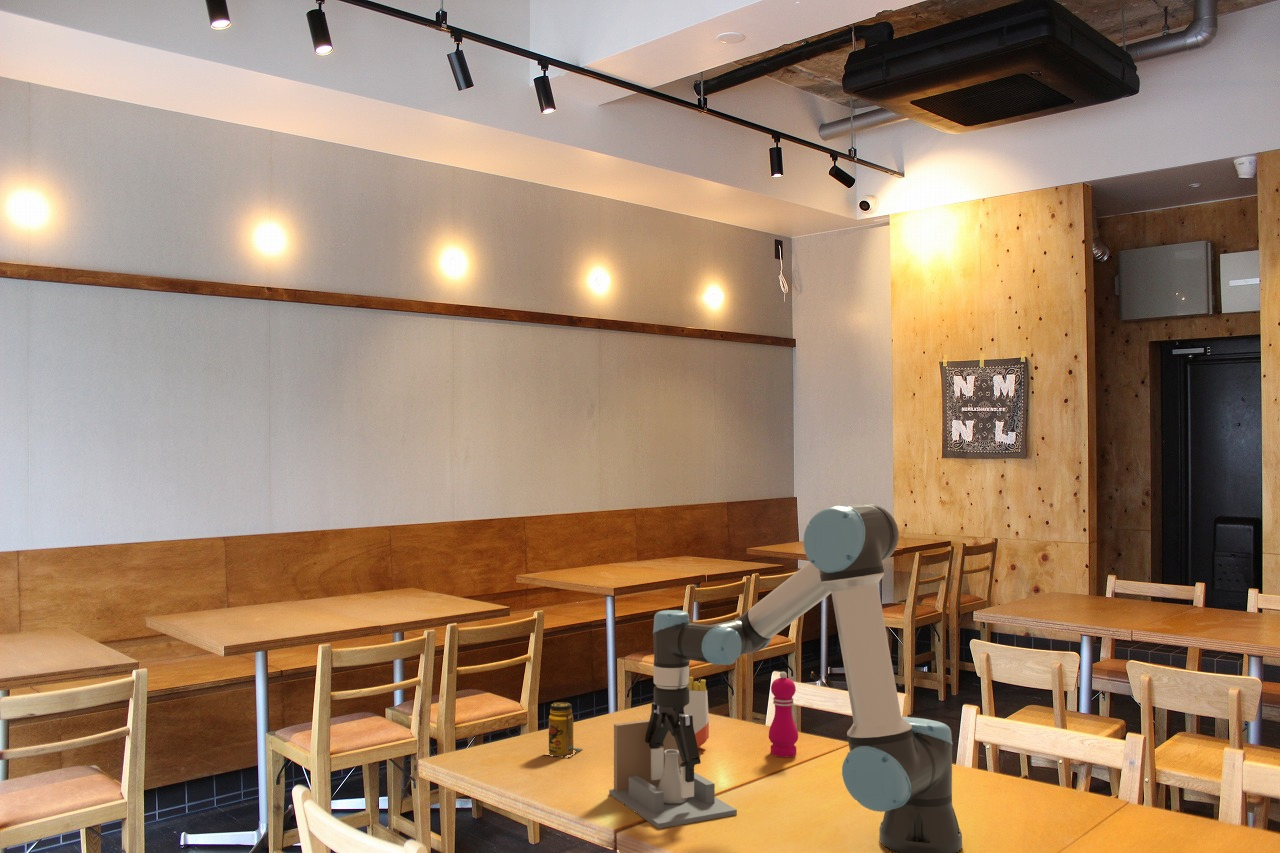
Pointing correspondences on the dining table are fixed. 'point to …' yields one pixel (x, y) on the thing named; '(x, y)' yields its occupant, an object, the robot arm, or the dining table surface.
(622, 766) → the shaker holder
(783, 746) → the pepper mill
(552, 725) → the condiment
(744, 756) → the dining table surface
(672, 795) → the flask
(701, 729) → the french fries container
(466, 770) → the dining table surface
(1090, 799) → the dining table surface
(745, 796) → the dining table surface
